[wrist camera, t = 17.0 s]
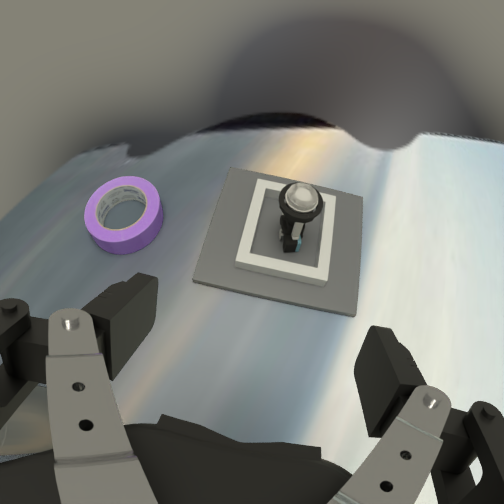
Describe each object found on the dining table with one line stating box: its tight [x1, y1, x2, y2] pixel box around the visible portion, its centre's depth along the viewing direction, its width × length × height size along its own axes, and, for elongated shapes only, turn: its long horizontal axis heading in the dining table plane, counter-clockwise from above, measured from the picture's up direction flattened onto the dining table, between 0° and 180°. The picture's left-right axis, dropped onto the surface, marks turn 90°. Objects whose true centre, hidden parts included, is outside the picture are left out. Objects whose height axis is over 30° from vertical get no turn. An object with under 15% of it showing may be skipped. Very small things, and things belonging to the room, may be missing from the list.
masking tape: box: [84, 176, 163, 254], centre depth 45 cm, size 12×12×4 cm
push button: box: [279, 182, 323, 252], centre depth 41 cm, size 7×5×10 cm
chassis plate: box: [192, 167, 363, 317], centre depth 45 cm, size 22×20×3 cm
